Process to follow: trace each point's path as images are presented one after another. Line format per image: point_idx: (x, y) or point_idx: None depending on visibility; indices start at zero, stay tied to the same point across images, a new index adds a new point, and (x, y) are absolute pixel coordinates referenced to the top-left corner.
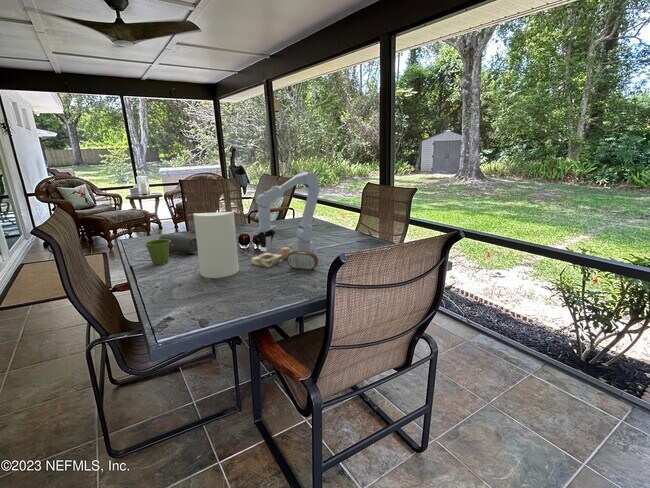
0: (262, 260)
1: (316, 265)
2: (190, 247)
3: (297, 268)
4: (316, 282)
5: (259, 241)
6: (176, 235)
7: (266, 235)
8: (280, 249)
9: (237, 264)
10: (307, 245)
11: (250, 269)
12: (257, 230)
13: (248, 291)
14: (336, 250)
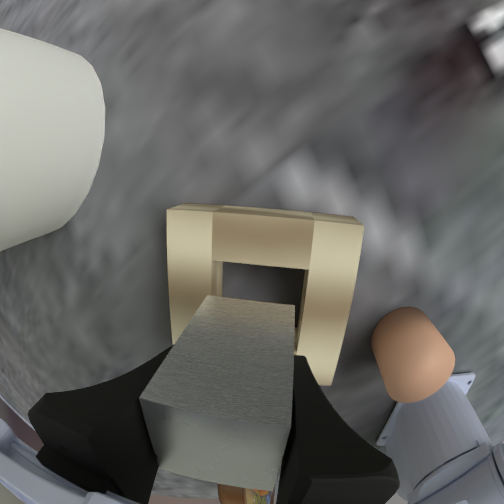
0: (171, 321)
1: (270, 497)
2: None
3: None
4: (173, 491)
5: (137, 368)
6: None
7: (147, 501)
8: (402, 354)
9: (38, 232)
10: (404, 489)
11: (110, 267)
12: (6, 484)
13: (24, 369)
14: (501, 433)
